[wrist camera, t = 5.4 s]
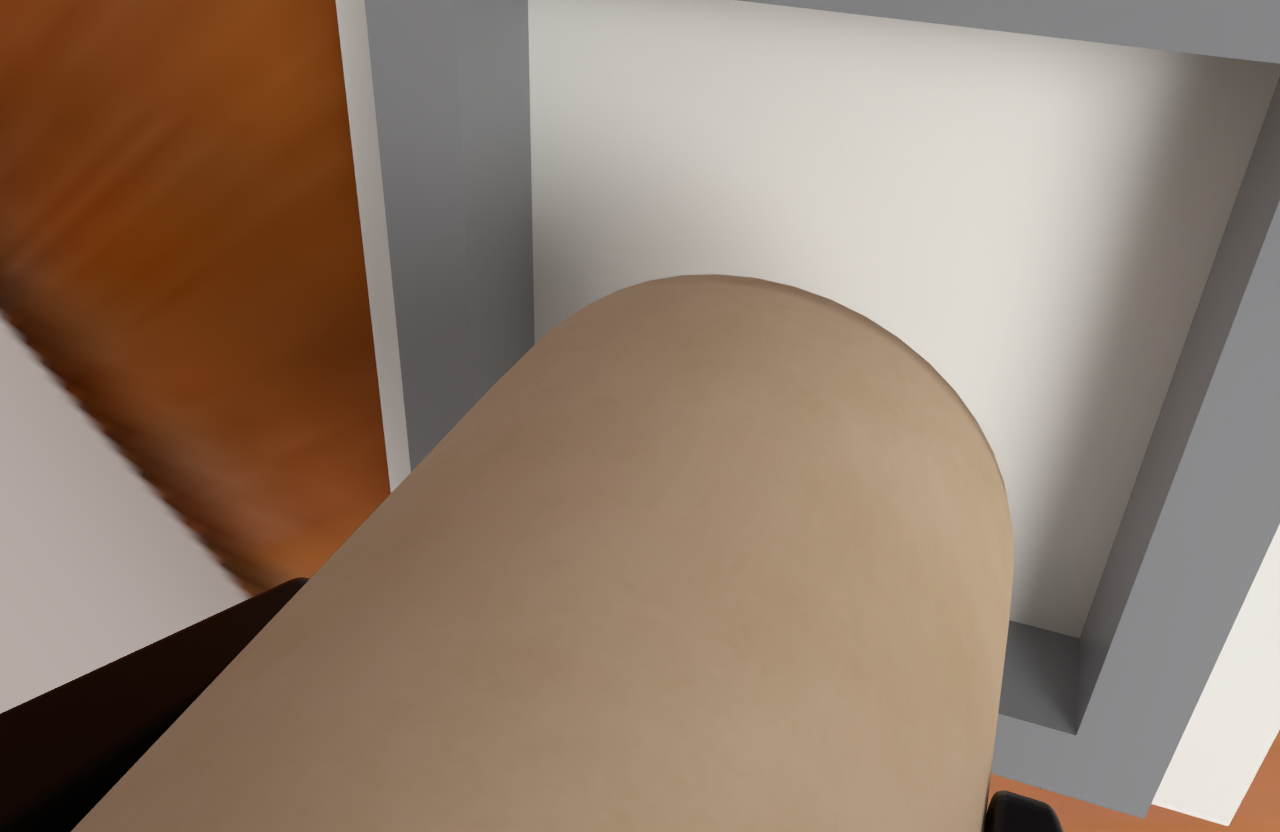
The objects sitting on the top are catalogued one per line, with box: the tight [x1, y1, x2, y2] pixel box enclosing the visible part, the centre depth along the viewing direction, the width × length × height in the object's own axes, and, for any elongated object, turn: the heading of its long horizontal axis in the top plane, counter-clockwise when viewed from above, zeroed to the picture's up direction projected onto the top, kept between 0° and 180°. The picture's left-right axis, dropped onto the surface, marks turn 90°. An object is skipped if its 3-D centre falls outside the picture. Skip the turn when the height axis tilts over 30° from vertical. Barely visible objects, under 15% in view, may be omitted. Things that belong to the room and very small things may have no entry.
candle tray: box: [335, 0, 1280, 826], centre depth 15 cm, size 15×15×3 cm
